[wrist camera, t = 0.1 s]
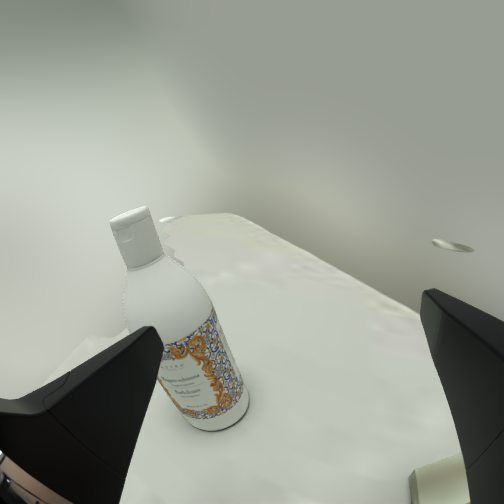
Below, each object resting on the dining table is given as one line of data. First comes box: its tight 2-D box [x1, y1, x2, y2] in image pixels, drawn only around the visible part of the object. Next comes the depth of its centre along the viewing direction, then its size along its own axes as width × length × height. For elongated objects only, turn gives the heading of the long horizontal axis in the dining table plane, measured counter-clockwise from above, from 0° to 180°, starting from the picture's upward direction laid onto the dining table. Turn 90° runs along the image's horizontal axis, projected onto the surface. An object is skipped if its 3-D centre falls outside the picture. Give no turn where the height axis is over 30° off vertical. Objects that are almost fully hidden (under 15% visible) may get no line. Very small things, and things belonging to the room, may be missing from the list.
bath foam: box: [110, 206, 249, 431], centre depth 21 cm, size 7×7×20 cm
